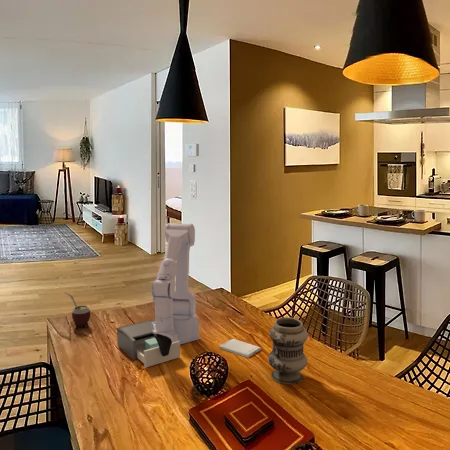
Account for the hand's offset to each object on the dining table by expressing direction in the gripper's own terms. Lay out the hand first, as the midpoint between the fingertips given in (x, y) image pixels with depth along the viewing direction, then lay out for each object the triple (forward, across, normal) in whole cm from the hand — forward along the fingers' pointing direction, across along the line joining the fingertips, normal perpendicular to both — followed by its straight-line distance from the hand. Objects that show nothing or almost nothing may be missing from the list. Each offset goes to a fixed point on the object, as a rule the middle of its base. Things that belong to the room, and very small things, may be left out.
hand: (165, 355), depth 146 cm
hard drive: (+4, +5, +27) cm, 28 cm away
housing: (+3, -16, 0) cm, 17 cm away
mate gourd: (+4, -49, -12) cm, 51 cm away
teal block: (+2, -8, 0) cm, 9 cm away
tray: (+3, -10, 0) cm, 10 cm away
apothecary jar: (+4, +30, +27) cm, 40 cm away
